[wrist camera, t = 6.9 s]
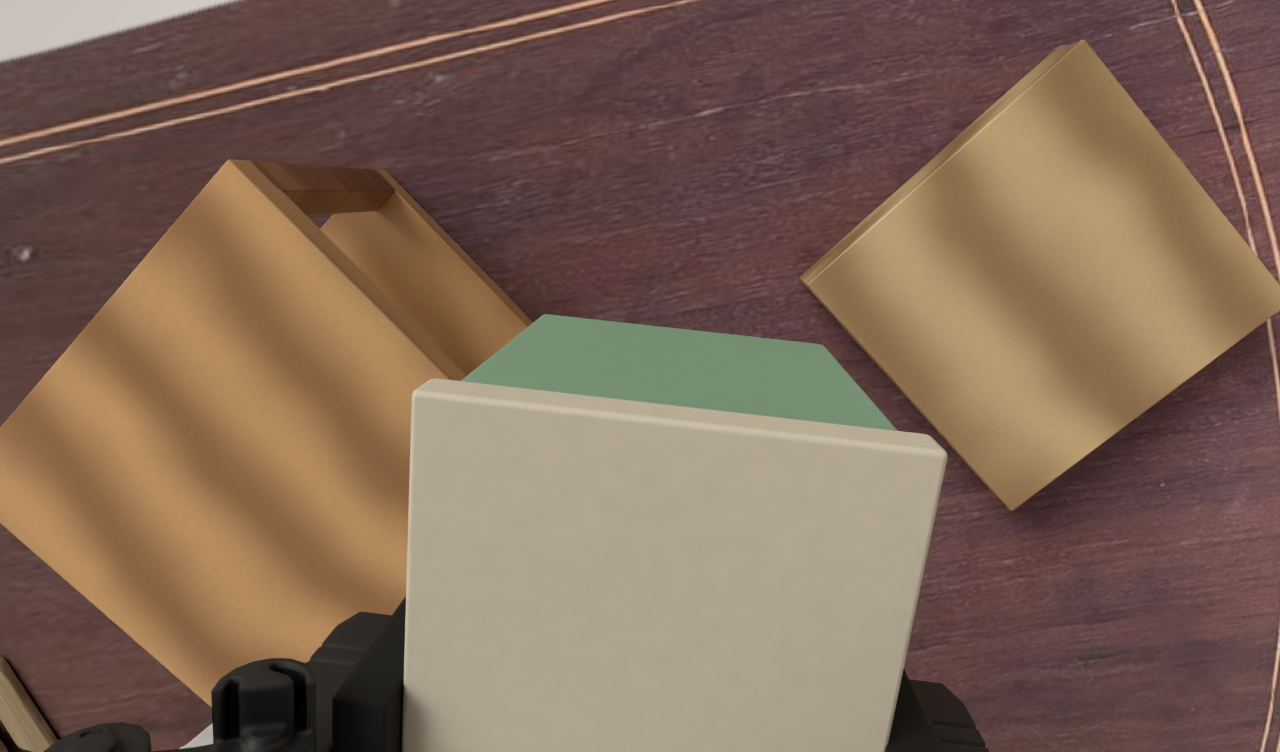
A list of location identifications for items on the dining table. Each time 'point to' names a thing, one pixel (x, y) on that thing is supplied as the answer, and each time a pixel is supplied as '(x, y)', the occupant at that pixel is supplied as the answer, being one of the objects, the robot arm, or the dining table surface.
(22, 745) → the tableware set
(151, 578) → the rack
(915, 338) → the wooden square board
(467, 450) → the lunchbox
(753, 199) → the dining table surface
